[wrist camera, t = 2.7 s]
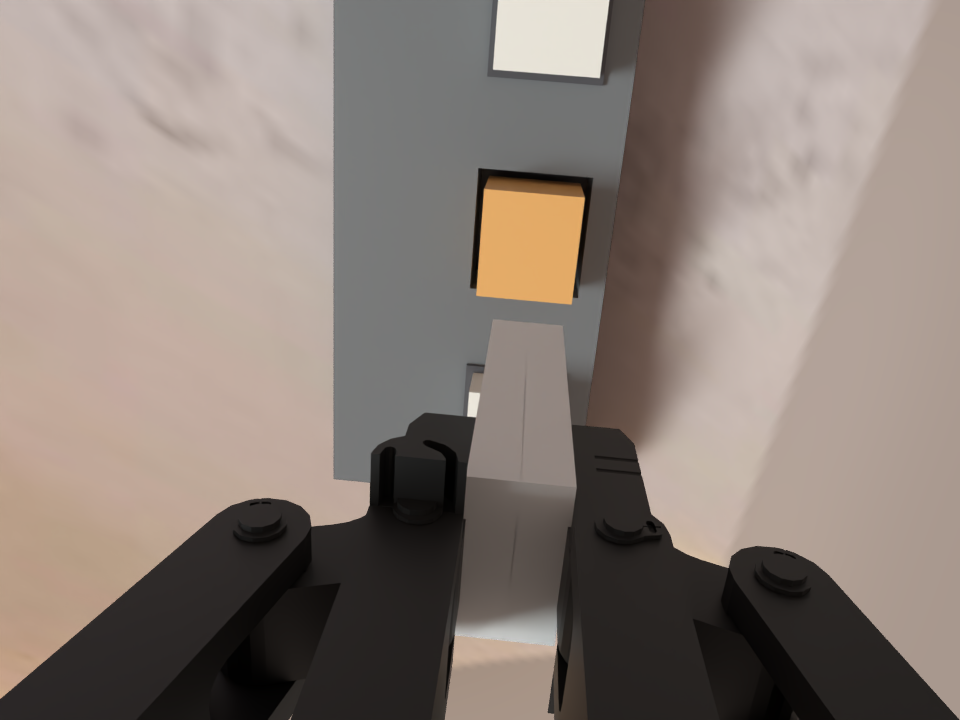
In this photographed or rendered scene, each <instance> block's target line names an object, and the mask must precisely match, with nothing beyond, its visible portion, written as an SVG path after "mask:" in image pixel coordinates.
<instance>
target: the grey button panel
mask: <svg viewBox="0 0 960 720" xmlns="http://www.w3.org/2000/svg"><path fill="white" fill-rule="evenodd" d="M644 4H645V0H334V479H338V480H348V481H358V482H368V483H370V471H371V453H372V451H373V450H374V449H375V448H376V447H377V445H379V444H381V443H383V442H385V441H387V440H389V439H391V438H396V437H401V436H405V435H406V432H407V429H408V426H409V424H410V423H411V422H413V421H414V420H415V419H417V418H418V417H419V416H421V415H422V414H423V413H425V412H426V413H436V414H447V415H457V416H467V417H476V415H477V409H478V403H479V398H480V392H481V386H482V380H483V374H484V369H485V363H486V357H487V351H488V345H489V340H490V334H491V328H492V322H493V319H496V320H507V321H518V322H529V323H540V324H551V325H561V326H563V334H564V346H565V358H566V369H567V381H568V392H569V404H570V416H571V425H581V426H586V419H587V412H588V404H589V397H590V390H591V383H592V376H593V369H594V362H595V354H596V347H597V340H598V333H599V326H600V319H601V312H602V304H603V297H604V290H605V283H606V276H607V269H608V261H609V254H610V247H611V240H612V233H613V226H614V219H615V211H616V204H617V197H618V190H619V183H620V176H621V169H622V161H623V154H624V147H625V140H626V133H627V126H628V118H629V111H630V104H631V97H632V90H633V83H634V76H635V68H636V61H637V54H638V47H639V40H640V33H641V26H642V18H643V11H644ZM489 176H500V177H512V178H523V179H535V180H547V181H559V182H571V183H580V184H581V187H582V190H583V193H584V196H585V201H584V209H583V217H582V225H581V233H580V241H579V249H578V257H577V265H576V273H575V282H574V290H573V298H572V305H570V304H559V303H549V302H538V301H527V300H516V299H505V298H494V297H483V296H476V292H477V278H478V265H479V251H480V238H481V224H482V211H483V197H484V188H485V186H486V183H487V181H488V178H489Z"/></svg>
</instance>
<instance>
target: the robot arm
mask: <svg viewBox="0 0 960 720" xmlns="http://www.w3.org/2000/svg"><path fill="white" fill-rule="evenodd" d="M556 632H557V638H558V644H557V651H556V658H555V665H554V673H553V679H552V687H551V694H550V700H549V708H548V713H552V714H554V720H959V719H958V718H957V717H956V715H955V714H954V713H953V712H952V711H951V710H950V709H949V708H948V707H947V706H946V704H945V703H944V702H943V701H942V700H941V699H940V698H939V697H938V696H937V694H936V693H935V692H934V691H933V690H932V689H931V688H930V687H929V686H928V684H927V683H926V682H925V681H924V680H923V679H922V678H921V677H920V676H919V674H918V673H917V672H916V671H915V670H914V669H913V668H912V667H911V666H910V665H909V663H908V662H907V661H906V660H905V659H904V658H903V657H902V656H901V655H900V653H898V651H897V650H896V649H895V648H894V647H893V646H892V645H891V643H890V642H889V641H888V640H887V639H886V638H885V637H884V636H883V635H882V634H881V633H880V631H879V630H878V629H877V628H876V627H875V626H874V625H873V624H872V622H871V621H870V620H869V619H868V618H867V617H866V616H865V615H864V614H863V613H862V612H861V610H860V609H859V608H858V607H857V606H856V605H855V604H854V603H853V601H852V600H851V599H850V598H849V597H848V596H847V595H846V594H845V593H844V591H843V590H842V589H841V588H840V587H839V586H838V585H837V584H836V583H835V582H834V580H833V579H832V578H831V577H830V576H829V575H828V574H827V573H826V572H824V571H823V570H822V569H821V568H819V567H818V566H817V565H816V564H815V563H813V562H811V561H809V560H807V559H805V558H804V557H802V556H799V555H798V554H796V553H793V552H790V551H788V550H786V551H785V550H783V549H780V548H775V547H774V548H773V547H761V546H755V547H750V548H744V549H741V550H739V551H738V552H737V553H735V554H734V555H733V556H731V560H730V565H729V568H726V567H722V566H719V565H716V564H713V563H709V562H706V561H703V560H700V559H697V558H695V557H692V556H689V555H687V554H685V553H683V552H681V551H680V550H678V549H676V548H674V547H673V543H672V540H671V536H670V534H669V532H668V530H667V529H666V527H665V525H664V524H663V523H662V522H660V521H659V520H658V519H656V518H655V517H654V516H653V515H651V512H650V507H649V503H648V499H647V495H646V491H645V487H644V483H643V479H642V476H641V470H640V466H639V463H638V458H637V454H636V450H635V446H634V443H633V442H632V441H631V440H630V439H629V438H628V437H627V436H626V435H625V434H624V433H623V432H622V431H621V430H620V429H611V428H601V427H591V426H581V425H571V416H570V404H569V392H568V381H567V369H566V358H565V346H564V334H563V326H561V325H551V324H540V323H529V322H518V321H507V320H496V319H493V322H492V328H491V334H490V340H489V345H488V351H487V357H486V363H485V369H484V374H483V380H482V386H481V392H480V398H479V403H478V409H477V415H476V417H467V416H457V415H447V414H436V413H426V412H425V413H423V414H422V415H421V416H419V417H418V418H417V419H415V420H414V421H413V422H411V423H410V424H409V426H408V429H407V432H406V435H405V436H401V437H396V438H391V439H389V440H387V441H385V442H383V443H381V444H379V445H377V447H376V448H375V449H374V450H373V451H372V453H371V471H370V506H369V509H368V511H367V514H366V515H365V516H363V517H361V518H359V519H356V520H353V521H350V522H346V523H340V524H334V525H324V526H314V527H311V521H310V515H309V514H308V513H307V512H306V511H305V510H304V509H303V508H302V507H301V506H299V505H296V504H294V503H291V502H289V501H286V500H279V499H271V498H262V499H253V500H248V501H245V502H241V503H238V504H235V505H232V506H230V507H228V508H227V509H225V510H223V511H222V512H220V513H218V514H217V515H216V516H215V517H213V518H212V519H211V520H210V521H209V522H207V523H206V524H205V525H204V526H203V527H202V528H200V529H199V530H198V531H197V532H196V533H195V534H193V535H192V536H191V537H190V538H189V539H188V540H186V541H185V542H184V543H183V544H182V545H181V546H179V547H178V548H177V549H176V550H175V551H173V552H172V553H171V554H170V555H169V556H168V557H166V558H165V559H164V560H163V561H162V562H161V563H159V564H158V565H157V566H156V567H155V568H154V569H152V570H151V571H150V572H149V573H148V574H147V575H145V576H144V577H143V578H142V579H141V580H139V581H138V582H137V583H136V584H135V585H134V586H132V587H131V588H130V589H129V590H128V591H127V592H125V593H124V594H123V595H122V596H121V597H120V598H118V599H117V600H116V601H115V602H114V603H113V604H111V605H110V606H109V607H108V608H107V609H105V610H104V611H103V612H102V613H101V614H100V615H98V616H97V617H96V618H95V619H94V620H93V621H91V622H90V623H89V624H88V625H87V626H86V627H84V628H83V629H82V630H81V631H80V632H79V633H77V634H76V635H75V636H74V637H73V638H71V639H70V640H69V641H68V642H67V643H66V644H64V645H63V646H62V647H61V648H60V649H59V650H57V651H56V652H55V653H54V654H53V655H52V656H50V657H49V658H48V659H47V660H46V661H45V662H43V663H42V664H41V665H40V666H39V667H37V668H36V669H35V670H34V671H33V672H32V673H30V674H29V675H28V676H27V677H26V678H25V679H23V680H22V681H21V682H20V683H19V684H18V685H16V686H15V687H14V688H13V689H12V690H11V691H9V692H8V693H7V694H6V695H5V696H3V697H2V698H1V699H0V720H289V719H290V717H291V716H292V718H291V720H445V713H446V705H447V698H448V690H449V684H450V676H451V669H452V662H453V649H454V636H455V635H457V636H466V637H475V638H484V639H494V640H503V641H512V642H521V643H530V644H540V645H549V646H555V639H556ZM292 714H293V715H292Z"/></svg>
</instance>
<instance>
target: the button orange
mask: <svg viewBox="0 0 960 720" xmlns="http://www.w3.org/2000/svg"><path fill="white" fill-rule="evenodd" d="M584 201H585V196H584V193H583V190H582V187H581V184H580V183H571V182H559V181H547V180H535V179H523V178H512V177H500V176H489V178H488V181H487V183H486V186H485V188H484V197H483V211H482V224H481V238H480V251H479V265H478V278H477V292H476V296H483V297H494V298H505V299H516V300H527V301H538V302H549V303H559V304H570V305H572V298H573V290H574V282H575V273H576V265H577V257H578V249H579V241H580V233H581V225H582V217H583V209H584Z"/></svg>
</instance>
